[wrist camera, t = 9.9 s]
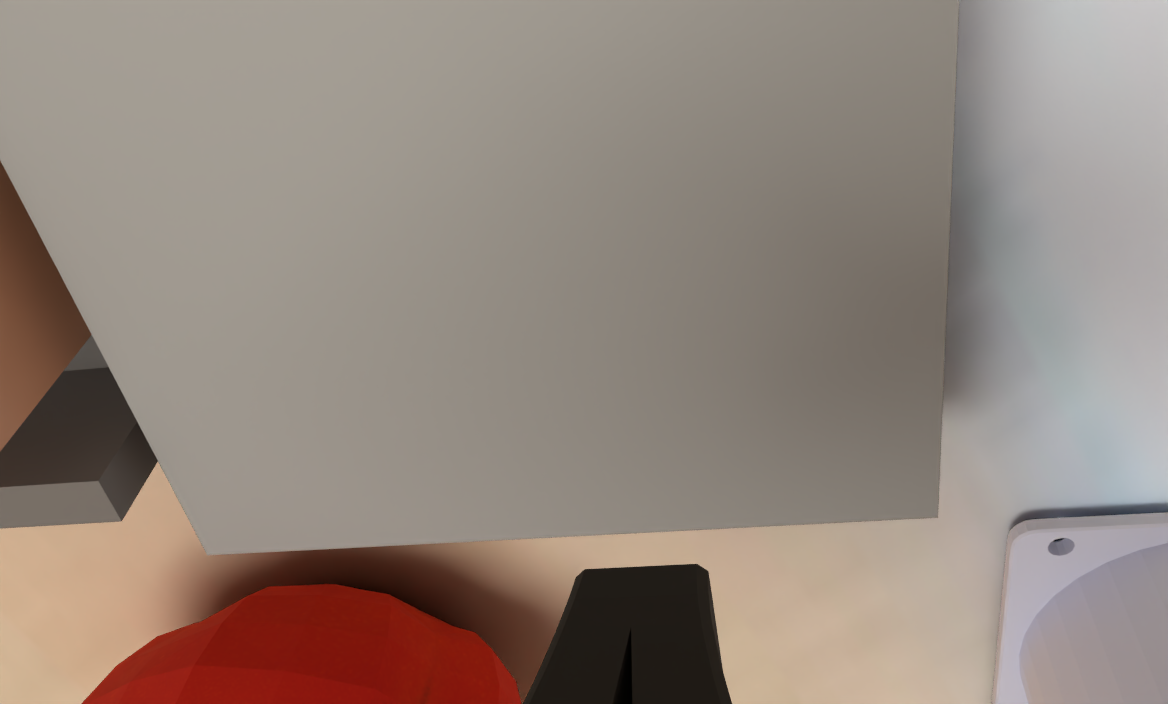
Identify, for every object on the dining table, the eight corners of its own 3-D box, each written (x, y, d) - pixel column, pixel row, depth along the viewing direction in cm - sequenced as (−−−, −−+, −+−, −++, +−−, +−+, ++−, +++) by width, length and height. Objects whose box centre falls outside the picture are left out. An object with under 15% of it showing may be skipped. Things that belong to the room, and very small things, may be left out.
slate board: (928, -456, 13) (978, -460, 11) (910, 410, 21) (938, 517, 19) (-65, -261, 16) (-204, -229, 13) (257, 454, 24) (207, 555, 21)
